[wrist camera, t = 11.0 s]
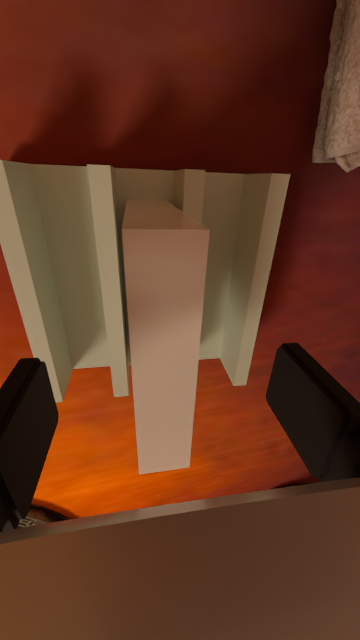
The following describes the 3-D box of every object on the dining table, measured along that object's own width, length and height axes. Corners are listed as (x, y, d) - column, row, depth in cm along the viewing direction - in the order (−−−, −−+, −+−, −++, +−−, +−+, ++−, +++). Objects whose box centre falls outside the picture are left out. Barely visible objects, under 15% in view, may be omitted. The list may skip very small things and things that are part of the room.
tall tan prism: (166, 200, 16) (209, 229, 7) (165, 348, 21) (189, 467, 12) (127, 199, 15) (122, 229, 7) (135, 350, 21) (139, 474, 12)
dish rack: (260, 175, 17) (299, 174, 13) (232, 350, 24) (252, 384, 20) (7, 163, 14) (-38, 158, 11) (55, 362, 21) (39, 404, 17)
